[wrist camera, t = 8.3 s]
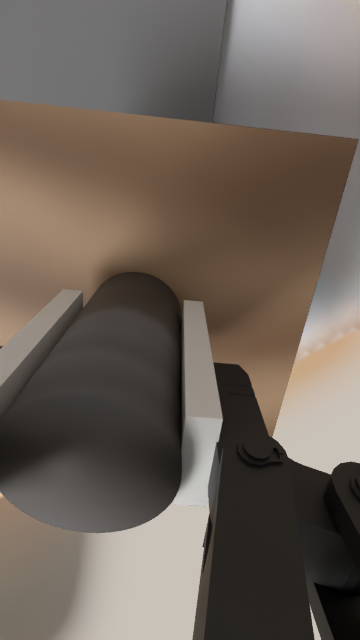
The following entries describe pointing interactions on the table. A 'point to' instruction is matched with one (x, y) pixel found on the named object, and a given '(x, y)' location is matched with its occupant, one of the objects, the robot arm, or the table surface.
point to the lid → (147, 289)
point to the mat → (113, 55)
